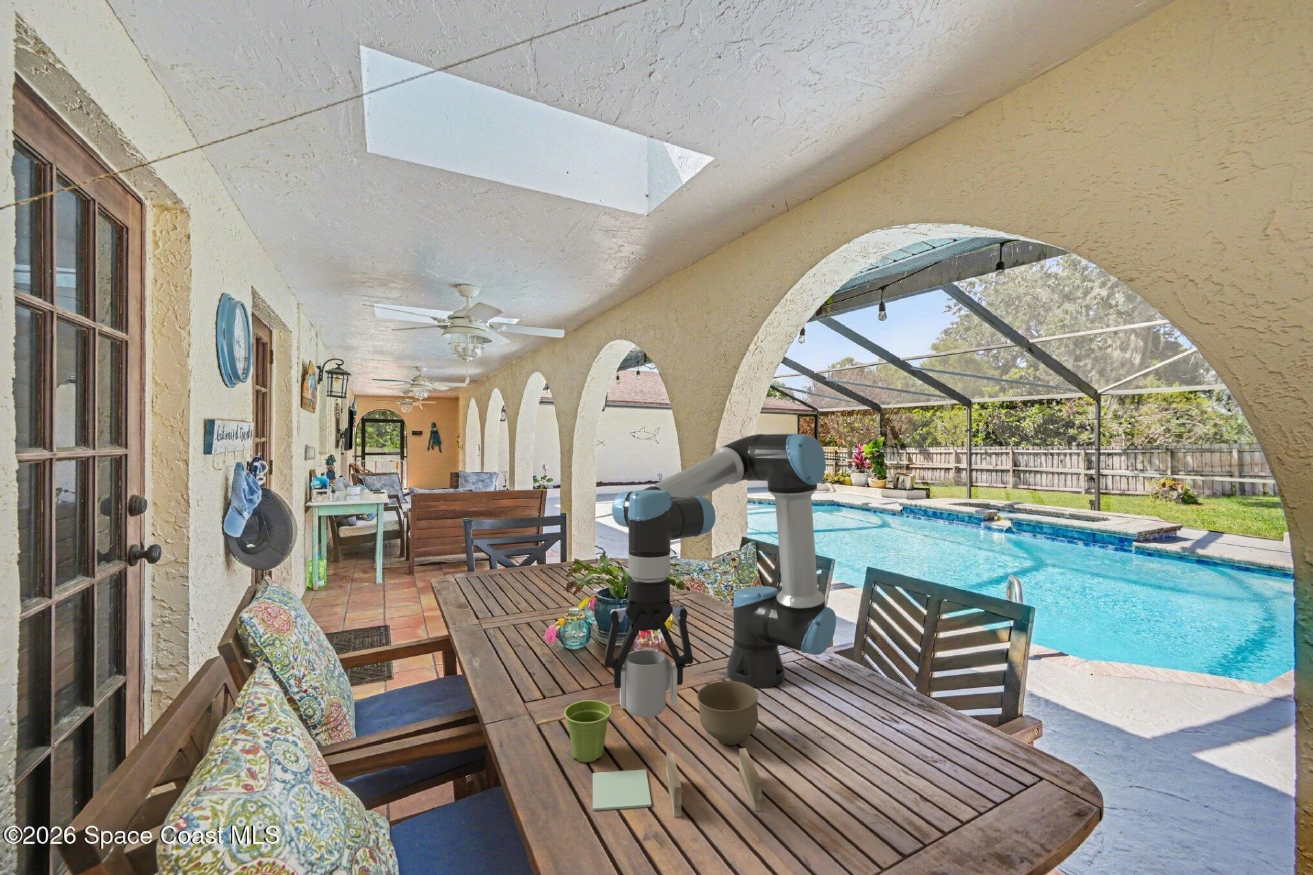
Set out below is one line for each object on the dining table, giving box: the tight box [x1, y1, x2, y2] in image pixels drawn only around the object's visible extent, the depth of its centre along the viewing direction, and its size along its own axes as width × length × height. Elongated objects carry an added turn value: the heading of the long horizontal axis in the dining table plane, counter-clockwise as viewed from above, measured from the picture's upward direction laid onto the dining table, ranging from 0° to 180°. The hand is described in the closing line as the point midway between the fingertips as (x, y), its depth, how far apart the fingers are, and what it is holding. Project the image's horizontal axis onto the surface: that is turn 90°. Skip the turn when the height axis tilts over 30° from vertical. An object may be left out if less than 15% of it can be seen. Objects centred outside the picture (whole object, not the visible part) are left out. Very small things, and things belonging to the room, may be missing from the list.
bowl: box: [696, 680, 759, 746], centre depth 115 cm, size 13×13×10 cm
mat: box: [592, 769, 652, 812], centre depth 99 cm, size 10×10×1 cm
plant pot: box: [563, 699, 613, 763], centre depth 110 cm, size 9×9×9 cm
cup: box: [624, 649, 672, 718], centre depth 99 cm, size 7×10×9 cm
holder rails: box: [665, 747, 763, 818], centre depth 98 cm, size 15×10×5 cm, turn 97°
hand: (648, 703), depth 99 cm, fingers closed on cup, 8 cm apart
